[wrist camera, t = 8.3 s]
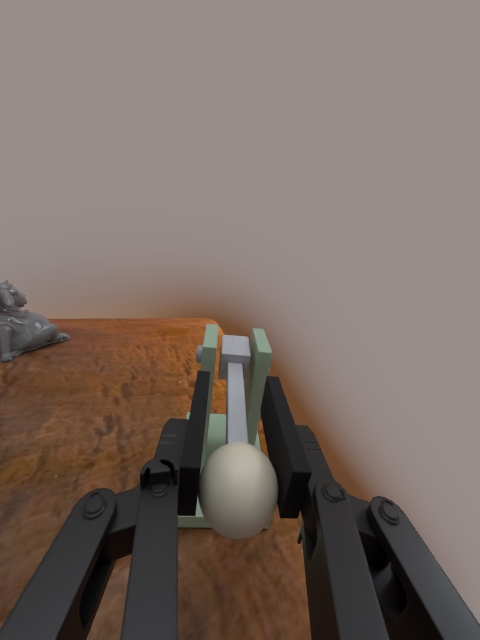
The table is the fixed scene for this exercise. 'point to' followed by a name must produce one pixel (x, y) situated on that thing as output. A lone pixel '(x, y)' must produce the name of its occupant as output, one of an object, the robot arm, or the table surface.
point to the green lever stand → (217, 422)
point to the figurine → (22, 325)
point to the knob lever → (237, 460)
